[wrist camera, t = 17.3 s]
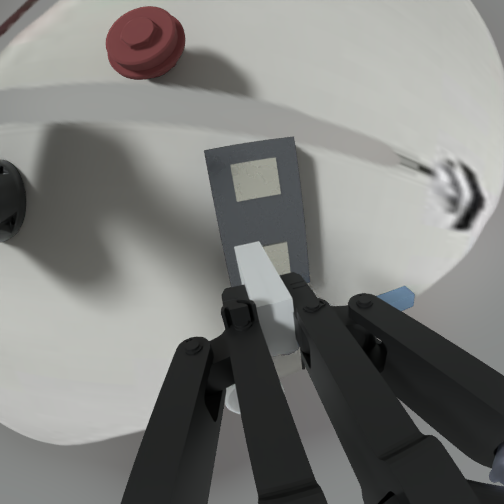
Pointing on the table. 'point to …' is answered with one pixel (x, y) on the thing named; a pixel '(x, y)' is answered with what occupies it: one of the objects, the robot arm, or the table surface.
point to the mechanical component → (145, 43)
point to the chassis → (260, 203)
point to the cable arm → (393, 301)
